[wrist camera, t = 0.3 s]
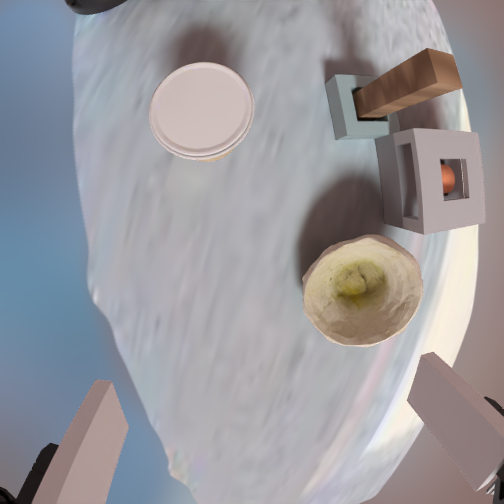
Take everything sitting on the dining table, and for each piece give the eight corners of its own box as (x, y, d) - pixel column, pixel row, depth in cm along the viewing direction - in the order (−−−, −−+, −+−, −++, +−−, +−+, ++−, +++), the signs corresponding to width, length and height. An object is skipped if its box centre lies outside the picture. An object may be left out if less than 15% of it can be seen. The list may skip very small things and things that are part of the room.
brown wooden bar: (347, 98, 33) (427, 47, 16) (368, 98, 33) (452, 54, 16) (351, 120, 34) (437, 82, 16) (372, 120, 34) (462, 87, 16)
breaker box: (374, 138, 35) (413, 128, 26) (436, 138, 36) (477, 133, 27) (384, 223, 38) (423, 234, 29) (444, 214, 39) (485, 222, 29)
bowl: (284, 241, 38) (304, 260, 28) (379, 216, 38) (421, 226, 28) (305, 339, 41) (325, 379, 31) (389, 310, 41) (424, 339, 32)
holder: (325, 84, 33) (335, 74, 29) (375, 85, 34) (389, 77, 30) (335, 140, 35) (347, 135, 31) (386, 138, 36) (401, 134, 32)
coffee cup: (209, 83, 32) (202, 41, 21) (262, 131, 34) (278, 105, 23) (156, 135, 33) (125, 113, 22) (209, 183, 35) (200, 181, 24)
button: (412, 166, 34) (434, 164, 29) (431, 165, 34) (453, 164, 29) (415, 192, 35) (437, 193, 30) (433, 190, 35) (455, 192, 30)
